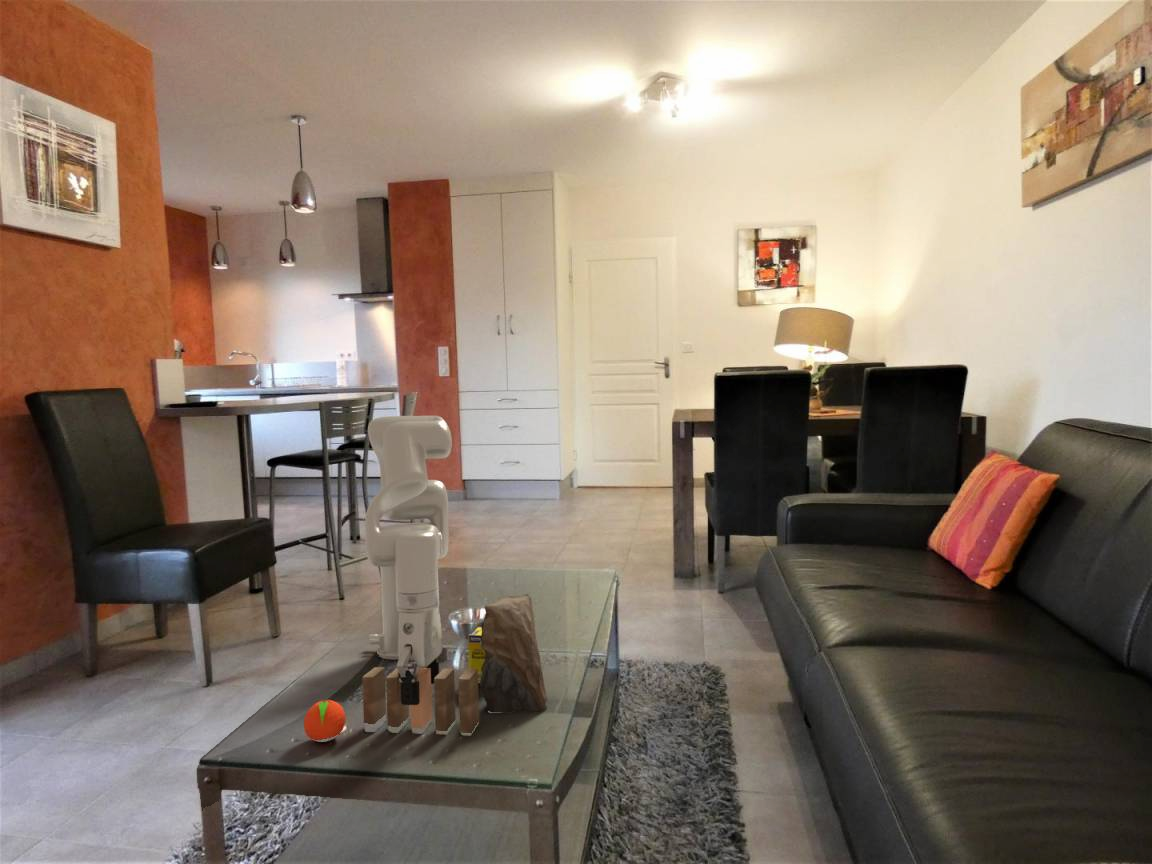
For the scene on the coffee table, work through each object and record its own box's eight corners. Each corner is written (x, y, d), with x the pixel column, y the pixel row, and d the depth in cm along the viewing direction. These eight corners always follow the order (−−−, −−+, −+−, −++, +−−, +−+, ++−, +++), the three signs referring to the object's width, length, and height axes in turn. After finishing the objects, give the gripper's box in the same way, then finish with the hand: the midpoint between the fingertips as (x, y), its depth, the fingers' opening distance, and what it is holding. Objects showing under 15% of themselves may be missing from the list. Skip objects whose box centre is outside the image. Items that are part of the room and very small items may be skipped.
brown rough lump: (480, 715, 125) (477, 609, 125) (483, 690, 138) (480, 593, 138) (547, 710, 126) (543, 605, 126) (544, 685, 139) (541, 590, 139)
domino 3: (432, 722, 123) (430, 668, 123) (422, 734, 118) (420, 678, 118) (422, 721, 123) (420, 668, 123) (411, 734, 118) (409, 677, 118)
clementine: (344, 749, 113) (343, 707, 113) (301, 756, 111) (299, 713, 111) (347, 729, 121) (346, 690, 121) (306, 735, 119) (305, 696, 119)
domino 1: (364, 732, 119) (362, 677, 120) (376, 720, 124) (374, 667, 124) (374, 732, 119) (372, 677, 119) (386, 720, 124) (384, 667, 124)
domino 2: (387, 733, 119) (385, 677, 119) (399, 721, 124) (397, 667, 124) (398, 733, 118) (396, 677, 119) (409, 721, 123) (407, 667, 123)
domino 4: (435, 735, 117) (433, 678, 118) (445, 722, 122) (443, 668, 122) (446, 735, 117) (444, 678, 117) (455, 723, 122) (454, 668, 122)
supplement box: (496, 688, 139) (494, 635, 139) (468, 686, 140) (467, 634, 140) (504, 677, 144) (503, 627, 144) (478, 676, 146) (477, 626, 146)
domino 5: (460, 735, 117) (458, 679, 117) (468, 723, 122) (467, 669, 122) (471, 736, 117) (469, 679, 117) (479, 723, 121) (477, 669, 122)
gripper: (419, 612, 111) (422, 714, 111) (453, 588, 129) (456, 676, 128) (377, 612, 113) (380, 712, 112) (416, 588, 130) (419, 675, 130)
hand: (421, 693), depth 120 cm, fingers open, 9 cm apart
